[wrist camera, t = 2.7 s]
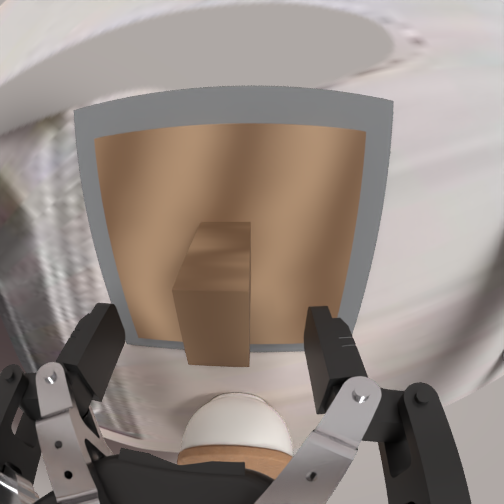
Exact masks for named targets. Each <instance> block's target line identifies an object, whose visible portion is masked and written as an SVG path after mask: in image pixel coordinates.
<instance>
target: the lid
mask: <svg viewBox="0 0 504 504" xmlns="http://www.w3.org/2000/svg"><path fill="white" fill-rule="evenodd" d="M365 142H366V132H365V131H361V130H354V129H345V128H336V127H325V126H313V125H298V124H273V123H230V124H205V125H189V126H177V127H166V128H157V129H149V130H141V131H134V132H127V133H121V134H115V135H109V136H103V137H99V138H95V139H94V144H95V154H96V163H97V170H98V178H99V185H100V191H101V197H102V203H103V209H104V214H105V219H106V224H107V229H108V234H109V238H110V243H111V247H112V251H113V255H114V259H115V263H116V267H117V271H118V275H119V278H120V282H121V285H122V289H123V292H124V295H125V299H126V302H127V305H128V308H129V312H130V315H131V318H132V321H133V324H134V326H135V329H136V332H137V335H138V338H145V339H155V340H167V341H180V342H183V344H184V348H185V353H186V357H187V361H188V364H189V365H204V366H227V367H249V359H250V344H296V343H304V330H305V324H306V317H307V311H308V307H309V306H328V308H329V310H330V313H331V316H332V318H337V317H338V313H339V308H340V304H341V300H342V295H343V291H344V286H345V281H346V277H347V272H348V267H349V262H350V256H351V251H352V245H353V239H354V233H355V227H356V221H357V214H358V207H359V200H360V192H361V183H362V175H363V165H364V154H365Z"/></svg>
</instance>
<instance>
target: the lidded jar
mask: <svg viewBox="0 0 504 504" xmlns="http://www.w3.org/2000/svg"><path fill="white" fill-rule="evenodd" d="M292 458H293V446H292V440H291V436H290V433H289V430H288V428H287V425H286V423H285V421H284V420H283V418H282V417H281V416H280V414H279V413H278V412H277V411H276V410H274V409H273V408H272V407H271V406H269V405H268V404H267V403H266V401H264V400H263V399H262V398H260V397H257V396H255V395H251V394H246V393H227V394H222V395H219V396H216V397H215V398H213V399H212V400H211V401H210V402H209V403H207V404H205V405H204V406H202V407H201V408H200V409H199V410H198V411H196V412H195V413H194V415H193V416H192V418H191V419H190V421H189V423H188V425H187V427H186V429H185V432H184V435H183V439H182V443H181V449H180V453H179V455H178V460H177V464H178V465H186V464H195V463H202V462H209V461H221V462H245V468H247V469H252V470H255V471H258V472H261V473H263V474H265V475H268V476H269V477H271V478H273V479H274V480H275V479H276V478H277V477H278V475H279V474H280V473H281V472H282V470H283V469H284V468H285V467H286V465H287V464H288V463H289V462H290V460H291V459H292Z"/></svg>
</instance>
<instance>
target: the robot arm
mask: <svg viewBox="0 0 504 504" xmlns="http://www.w3.org/2000/svg"><path fill="white" fill-rule="evenodd" d="M124 343H125V330H124V327H123V324H122V322H121V319H120V316H119V313H118V311H117V308H116V306H115V305H114V304H107V303H97V304H96V305H95V307H94V309H93V310H92V312H91V313H90V314H87V315H86V316H85V317H84V318H82V319H81V320H80V321H79V323H78V324H77V326H76V328H75V331H73V333H72V334H71V338H69V339H68V341H67V343H66V344H65V346H64V348H63V350H62V351H61V353H60V355H59V357H58V358H57V360H56V362H50V363H47V364H45V365H43V366H42V367H41V368H40V369H39V370H38V372H37V373H24V372H23V371H22V369H21V368H20V367H19V366H18V365H15V364H12V365H9V366H7V367H6V368H4V369H3V370H2V372H1V373H0V504H326V502H327V501H328V499H329V498H330V496H331V495H332V493H333V492H334V490H335V489H336V487H337V486H338V484H339V482H340V481H341V479H342V478H343V476H344V474H345V473H346V471H347V469H348V468H349V466H350V464H351V462H352V461H353V459H354V457H355V455H356V453H357V450H358V449H357V448H358V446H359V443H360V441H361V440H363V441H373V442H378V445H379V450H380V455H381V460H382V465H383V471H384V477H385V483H386V488H387V496H388V503H389V504H471V500H470V495H469V491H468V486H467V482H466V478H465V475H464V471H463V467H462V464H461V461H460V457H459V453H458V450H457V447H456V444H455V441H454V438H453V435H452V432H451V429H450V426H449V423H448V421H447V418H446V415H445V412H444V410H443V407H442V405H441V402H440V400H439V397H438V395H437V393H436V391H435V390H434V389H433V388H432V387H431V386H430V385H428V384H425V383H414V384H411V385H410V386H408V387H407V389H406V390H405V391H397V390H387V389H383V388H380V387H379V385H378V384H377V383H376V382H375V381H373V380H372V379H370V378H368V376H367V374H366V371H365V368H364V365H363V363H362V360H361V357H360V355H359V352H358V349H357V347H356V346H355V341H354V339H353V338H352V334H351V331H350V329H349V326H348V325H347V324H346V323H345V322H344V321H343V320H342V319H341V318H332V316H331V313H330V310H329V308H328V306H309V307H308V311H307V317H306V324H305V330H304V350H305V355H306V360H307V365H308V370H309V375H310V380H311V386H312V391H313V396H314V402H315V407H316V413H317V414H325V415H324V417H323V418H322V420H321V421H320V423H319V424H318V426H317V427H316V428H315V430H313V431H312V432H311V433H310V434H309V436H308V437H307V439H306V440H305V441H304V443H303V444H302V446H301V447H300V448H299V450H298V451H297V452H296V454H295V455H294V456H293V458H292V459H291V460H290V462H289V463H288V464H287V465H286V467H285V468H284V469H283V470H282V472H281V473H280V474H279V475H278V477H277V478H276V479H275V480H274V479H273V478H271V477H269V476H268V475H265V474H263V473H261V472H258V471H255V470H252V469H247V468H245V462H221V461H209V462H202V463H195V464H186V465H176V464H173V463H171V462H168V461H166V460H163V459H161V458H158V457H156V456H153V455H151V454H149V453H144V452H139V451H133V450H129V449H124V448H121V450H120V454H117V455H113V453H112V452H111V450H110V449H109V447H108V446H107V444H106V443H105V441H104V438H103V436H102V433H101V431H100V428H99V426H98V423H97V421H96V418H95V415H94V413H93V410H92V407H91V406H90V403H91V400H95V401H99V402H102V399H103V396H104V394H105V391H106V388H107V386H108V383H109V380H110V378H111V375H112V373H113V370H114V368H115V365H116V363H117V360H118V358H119V355H120V353H121V351H122V348H123V346H124ZM18 407H20V409H21V410H22V411H23V415H22V417H21V420H20V423H19V426H18V428H17V431H16V434H15V435H14V434H13V432H12V429H11V425H12V421H13V419H14V416H15V414H16V411H17V409H18ZM41 452H42V456H43V459H44V463H45V466H46V470H47V473H48V476H49V479H50V482H51V485H52V488H53V491H52V492H50V493H48V494H47V495H45V496H44V497H42V498H40V499H39V496H38V494H37V493H36V492H35V491H34V487H33V484H34V479H35V475H36V471H37V467H38V463H39V460H40V456H41Z"/></svg>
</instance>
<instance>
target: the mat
mask: <svg viewBox="0 0 504 504" xmlns="http://www.w3.org/2000/svg"><path fill="white" fill-rule="evenodd" d="M392 121H393V101H391V100H387V99H382V98H377V97H371V96H366V95H360V94H354V93H347V92H340V91H332V90H323V89H313V88H301V87H285V86H283V87H282V86H222V87H221V86H219V87H203V88H191V89H181V90H172V91H164V92H157V93H150V94H144V95H138V96H132V97H127V98H122V99H117V100H113V101H108V102H104V103H100V104H96V105H92V106H88V107H84V108H80V109H77V110H74V122H75V136H76V146H77V155H78V163H79V171H80V177H81V184H82V190H83V196H84V201H85V206H86V211H87V216H88V221H89V225H90V230H91V234H92V238H93V242H94V246H95V250H96V254H97V258H98V261H99V265H100V268H101V272H102V275H103V278H104V282H105V285H106V288H107V291H108V294H109V297H110V300H111V303H112V304H114V305H115V306H116V308H117V311H118V313H119V316H120V319H121V322H122V324H123V327H124V330H125V341H126V343H127V344H131V345H140V346H149V347H159V348H170V349H184V350H185V348H184V344H183V342H180V341H167V340H155V339H145V338H138V335H137V332H136V329H135V326H134V324H133V321H132V318H131V315H130V312H129V308H128V305H127V302H126V299H125V295H124V292H123V289H122V285H121V282H120V278H119V275H118V271H117V267H116V263H115V259H114V255H113V251H112V247H111V243H110V238H109V234H108V229H107V224H106V219H105V214H104V209H103V203H102V197H101V191H100V185H99V178H98V170H97V163H96V154H95V144H94V139H95V138H99V137H103V136H109V135H115V134H121V133H127V132H134V131H141V130H149V129H157V128H166V127H177V126H189V125H205V124H230V123H273V124H298V125H313V126H325V127H336V128H345V129H354V130H361V131H365V132H366V142H365V154H364V165H363V175H362V183H361V192H360V200H359V207H358V214H357V221H356V227H355V233H354V239H353V245H352V251H351V256H350V262H349V267H348V272H347V277H346V281H345V286H344V291H343V295H342V300H341V304H340V308H339V313H338V317H337V318H341V319H342V320H343V321H344V322H345V323H346V324H347V325H348V326H349V329H350V331H351V334H352V333H353V330H354V327H355V324H356V320H357V317H358V313H359V310H360V307H361V303H362V299H363V296H364V292H365V288H366V284H367V280H368V276H369V272H370V268H371V264H372V259H373V255H374V250H375V246H376V241H377V236H378V231H379V226H380V220H381V215H382V209H383V203H384V196H385V189H386V182H387V175H388V166H389V157H390V147H391V136H392ZM293 351H305V350H304V343H296V344H250V352H293Z"/></svg>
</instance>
